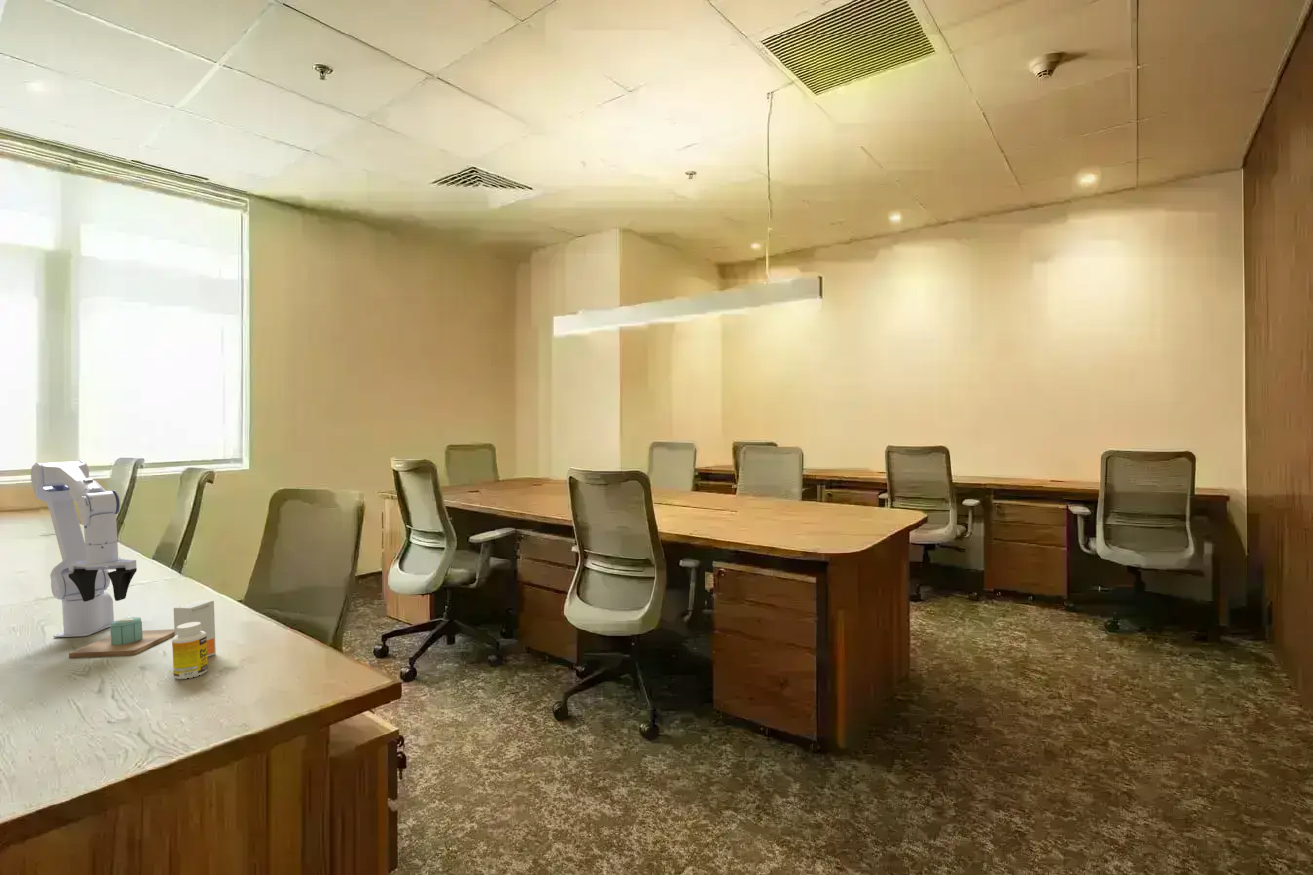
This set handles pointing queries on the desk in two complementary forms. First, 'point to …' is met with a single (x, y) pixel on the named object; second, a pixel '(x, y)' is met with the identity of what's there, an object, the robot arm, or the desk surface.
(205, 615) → the skincare box
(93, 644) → the post fixture
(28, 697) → the desk surface
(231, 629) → the desk surface
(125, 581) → the robot arm
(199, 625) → the supplement bottle
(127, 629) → the cap
